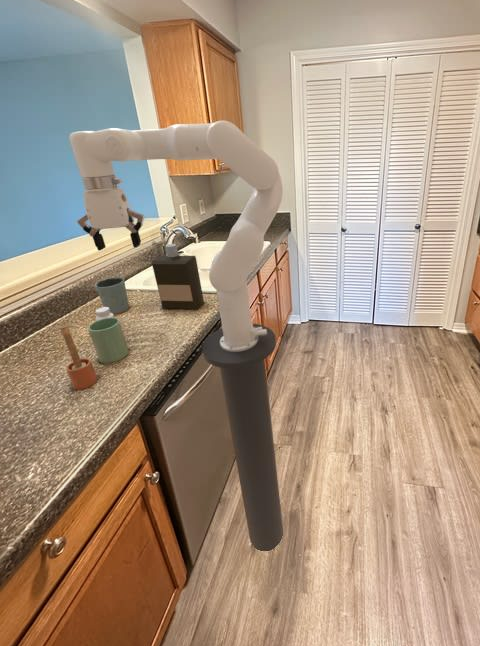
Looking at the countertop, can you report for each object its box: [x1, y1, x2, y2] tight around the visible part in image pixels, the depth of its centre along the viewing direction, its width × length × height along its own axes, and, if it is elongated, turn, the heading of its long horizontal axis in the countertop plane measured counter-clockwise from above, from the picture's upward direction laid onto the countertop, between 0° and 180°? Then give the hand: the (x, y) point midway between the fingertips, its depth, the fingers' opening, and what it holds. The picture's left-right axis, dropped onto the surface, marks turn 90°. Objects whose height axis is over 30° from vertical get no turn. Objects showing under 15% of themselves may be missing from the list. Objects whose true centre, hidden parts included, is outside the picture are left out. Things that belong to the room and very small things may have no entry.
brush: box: [59, 324, 86, 370], centre depth 84 cm, size 3×3×17 cm
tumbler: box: [87, 316, 130, 364], centre depth 97 cm, size 8×8×11 cm
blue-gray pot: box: [94, 276, 130, 315], centre depth 127 cm, size 10×10×12 cm
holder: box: [65, 357, 98, 390], centre depth 87 cm, size 6×6×6 cm
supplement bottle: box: [95, 306, 115, 321], centre depth 109 cm, size 5×5×10 cm
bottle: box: [150, 243, 205, 310], centre depth 125 cm, size 8×16×25 cm, turn 82°
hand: (119, 247), depth 91 cm, fingers open, 9 cm apart
